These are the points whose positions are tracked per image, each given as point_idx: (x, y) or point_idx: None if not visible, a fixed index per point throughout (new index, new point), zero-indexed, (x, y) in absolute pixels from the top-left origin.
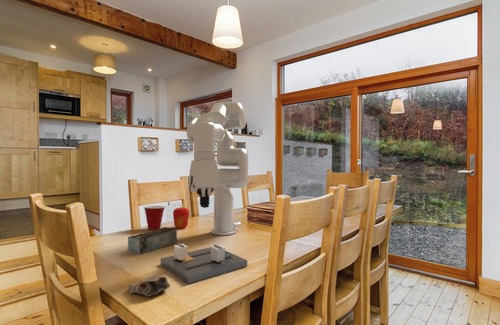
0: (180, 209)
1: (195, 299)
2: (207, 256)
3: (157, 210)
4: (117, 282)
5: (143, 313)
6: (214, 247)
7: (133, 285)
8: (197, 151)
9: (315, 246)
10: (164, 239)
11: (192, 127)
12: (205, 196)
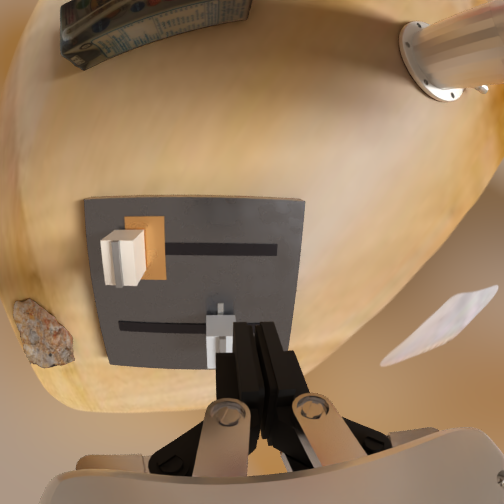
0: None
1: (111, 399)
2: (215, 280)
3: None
4: (3, 250)
5: (42, 379)
6: (211, 350)
7: (18, 328)
8: None
9: (460, 329)
10: (181, 20)
11: None
12: (268, 424)
